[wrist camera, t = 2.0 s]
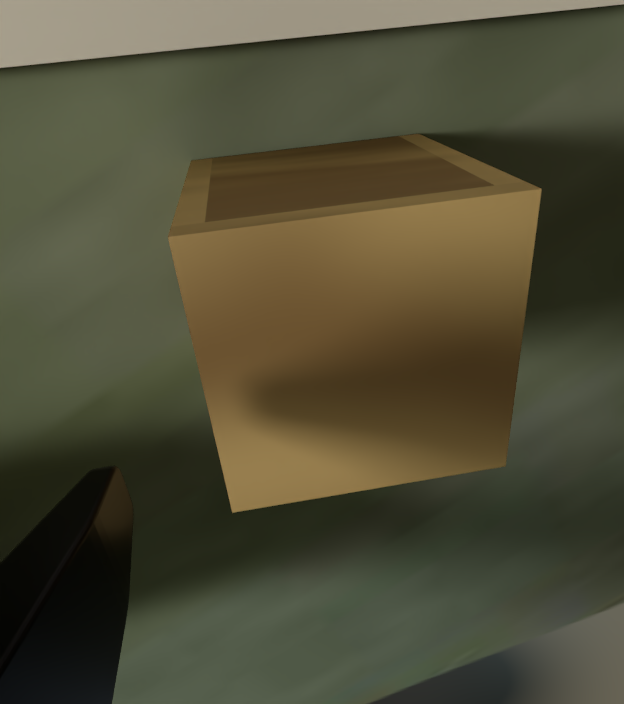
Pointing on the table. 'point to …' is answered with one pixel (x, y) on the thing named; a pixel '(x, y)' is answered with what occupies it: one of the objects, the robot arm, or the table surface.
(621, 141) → the table surface
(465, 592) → the table surface
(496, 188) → the taped shipping carton
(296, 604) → the table surface
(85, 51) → the base board
